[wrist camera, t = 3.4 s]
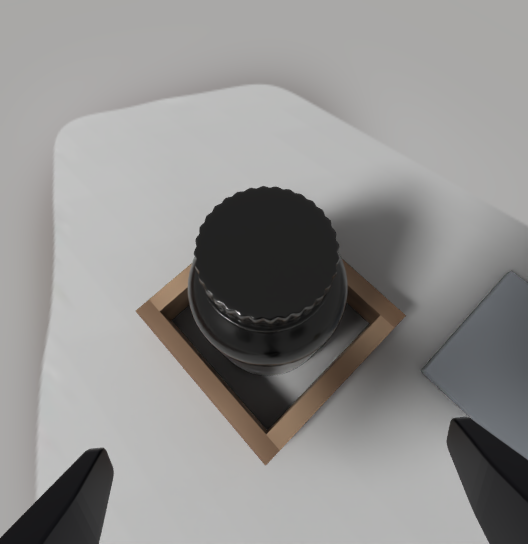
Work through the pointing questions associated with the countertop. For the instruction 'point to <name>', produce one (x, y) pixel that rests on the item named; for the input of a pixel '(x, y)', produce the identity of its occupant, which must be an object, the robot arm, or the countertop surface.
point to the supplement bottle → (267, 280)
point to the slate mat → (490, 364)
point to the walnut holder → (272, 440)
